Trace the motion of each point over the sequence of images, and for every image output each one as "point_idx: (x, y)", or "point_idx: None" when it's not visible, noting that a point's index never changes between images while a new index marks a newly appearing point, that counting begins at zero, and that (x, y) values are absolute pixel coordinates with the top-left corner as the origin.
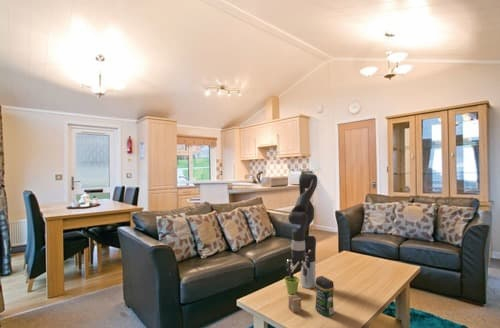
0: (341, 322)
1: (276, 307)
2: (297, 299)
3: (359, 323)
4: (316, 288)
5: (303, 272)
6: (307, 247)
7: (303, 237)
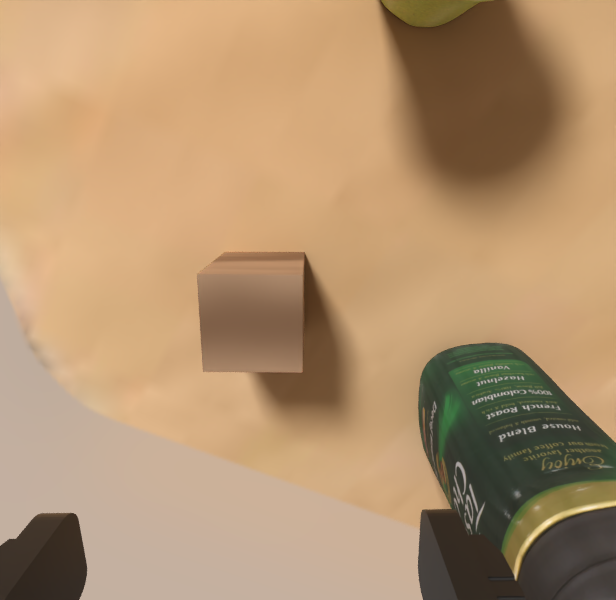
0: None
1: (127, 193)
2: (258, 371)
3: None
4: (493, 523)
5: (442, 570)
6: None
7: None
